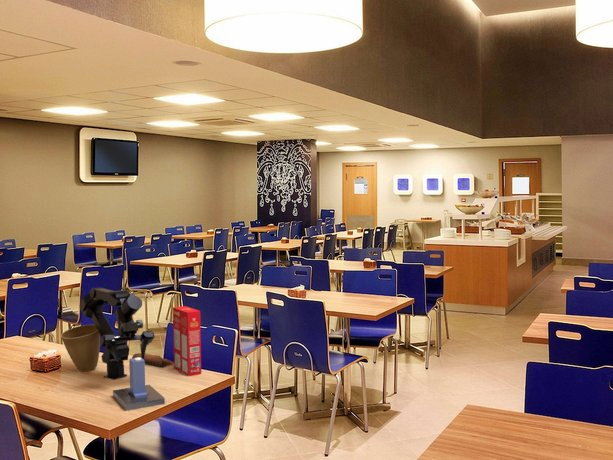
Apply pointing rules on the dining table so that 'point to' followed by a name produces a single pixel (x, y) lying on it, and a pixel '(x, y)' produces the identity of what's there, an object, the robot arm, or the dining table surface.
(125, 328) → the robot arm
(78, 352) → the plant pot
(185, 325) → the food packaging
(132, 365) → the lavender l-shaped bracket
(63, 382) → the dining table surface
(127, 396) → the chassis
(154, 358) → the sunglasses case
